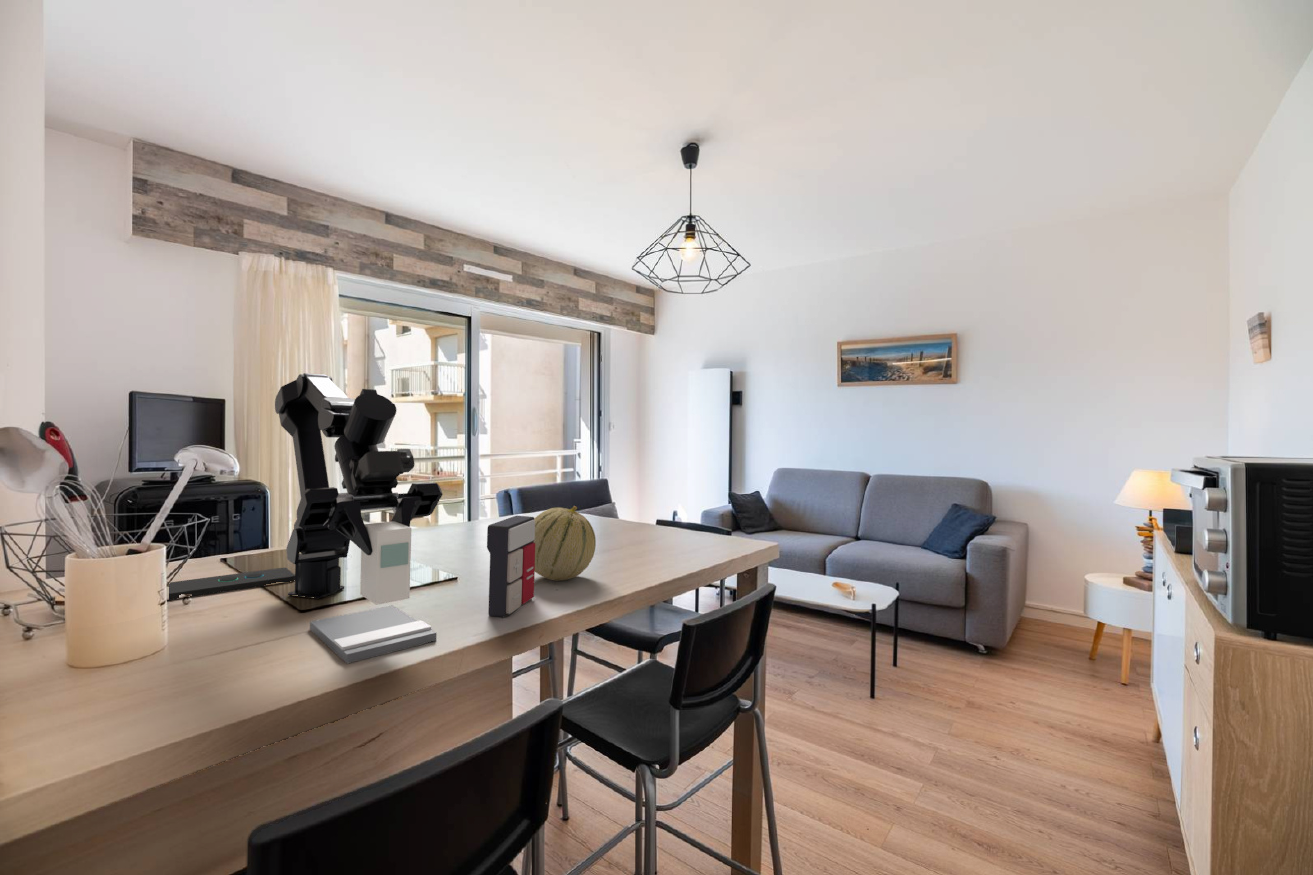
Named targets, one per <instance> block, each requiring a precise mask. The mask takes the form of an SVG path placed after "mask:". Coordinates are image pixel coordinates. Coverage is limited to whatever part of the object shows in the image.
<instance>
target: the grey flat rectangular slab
mask: <svg viewBox="0 0 1313 875" xmlns="http://www.w3.org/2000/svg"><path fill="white" fill-rule="evenodd" d="M309 630H310V631H311V632H312V633H313V634H314V635H315V636H316V637H317V638H318V639H320V640H321V641H322V642H323V643H324V644H325V645H326V646H327V647H328V648H329V649H330V650H332V652H334V654H336V655H337V656H338V657H339V658H340V659H341V660H342V661H343V662H344V663H346V664H350V663H351V664H352V663H354V662H358V661H362V659H363V660H366V659H369V658H374V657H378V656H382V655H385V654H389V653H394V652H397V650H398V651H401V650H404V649H410V648H413V646H414V647H417V646H421V645H425V644H428V642H429V643H432V642H431V641H433V642H436V641H437V632H436V631H435V630H432V626H431V625H430V624H428V623H426V622H425V621H423V620H421V619H420V620H417V619H416V618H414V617H413V616H410V615H409V614H407V613H406V612H404V611H403V610H401V609H400V608H398V607H396V606H394V605H392V604H391V605H387V606H386V605H385V606H382V607H377V608H376V607H375V608H371V609H367V610H362V611H356V612H351V613H347V614H342V615H336V616H332V617H331V616H330V617H326V618H321V619H314V620H312V621H311V620H310V621H309ZM424 643H425V644H424ZM409 647H410V648H409ZM393 651H394V652H393Z"/></svg>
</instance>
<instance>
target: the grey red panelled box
mask: <svg viewBox="0 0 1313 875" xmlns="http://www.w3.org/2000/svg"><path fill="white" fill-rule="evenodd" d="M534 518H535V517H534V516H529V515H528V516H527V515H514V516H511V517H508V518H506V519H503V520H500V521H497V522H493V523H491V524H488V526H487V528H486V529H487V533H486V534H487V535H486V549H487V551H488V553H489V577H488V578H489V579H488V580H489V582H488V585H489V586H488V616H490V617H498V618H507V617H509V615H511V614H512V613H513V612H515V611H516V610H518V609H519V608H520V607H522V606H523V605H525V604H526V603H527V602H529V601H530V600H532V599H533V598H534V597H535V573H536V572H535V543H534V539H535V520H534Z"/></svg>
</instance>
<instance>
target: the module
mask: <svg viewBox="0 0 1313 875" xmlns="http://www.w3.org/2000/svg"><path fill="white" fill-rule="evenodd" d="M364 525H365V527H366V530H367V533H368V535H369V538H370V541H371V546H372V554H371V555H367V554H366V553H364V552H363V551H362V550H361V549H360V553H361V554H360V583H359V584H360V588H359V591H360V592H359V594H360V595H361V596H362V597H364V598H365V599H366V600H368V601H370V602H371V603H373V604H374V605H383V604H388V603H392V602H393V603H394V602H398V601H403V600H408V599H410V598H411V593H410V592H411V561H412V560H411V558H412V557H411V555H412V553H411V552H412V527H411V526H410V527H408V526H405V525H403V524H400V523H398V522H395V521H392V522H391V521H384V522H375V523H374V522H373V523H372V522H371V523H364Z"/></svg>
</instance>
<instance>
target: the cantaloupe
mask: <svg viewBox="0 0 1313 875" xmlns="http://www.w3.org/2000/svg"><path fill="white" fill-rule="evenodd" d="M577 509H578V507H577V506H575V505H573V507H571V508H570V509H569V508H565V507H551V508H548V509H546V510H544V511H542V512H541V513H539V514H538V515H536V517H534V520H535V539H534V543H535V573H536V574H537V575H539V576H541V577H542V578H544V579H547V580H548V579H549V580H550V581H566V580H571V579H574V578H576V577H578V576H579V575H581V574H582V573H583V572H584V571H585V570H586V569H587V568H588V567H589V565H590V563H591V562H592V560H593V558H594V555H595V552H596V534H595V531H594V528H593V525H592V524H591V522H590V521H589V519H587V518H586V517H585V516H584V515H582V514H581V513H579V512H578V511H576V510H577Z"/></svg>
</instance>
